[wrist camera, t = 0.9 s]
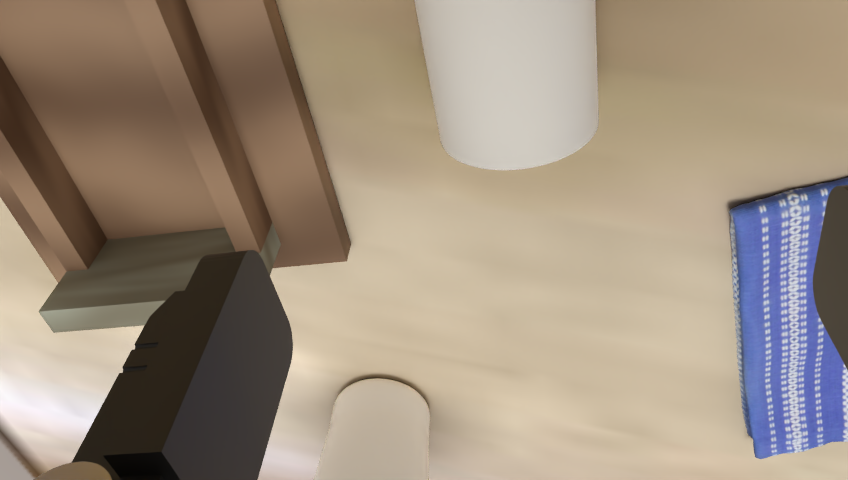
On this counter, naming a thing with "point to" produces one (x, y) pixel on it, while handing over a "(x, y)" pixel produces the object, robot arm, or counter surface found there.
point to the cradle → (156, 148)
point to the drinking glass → (377, 434)
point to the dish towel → (785, 325)
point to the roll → (511, 78)
